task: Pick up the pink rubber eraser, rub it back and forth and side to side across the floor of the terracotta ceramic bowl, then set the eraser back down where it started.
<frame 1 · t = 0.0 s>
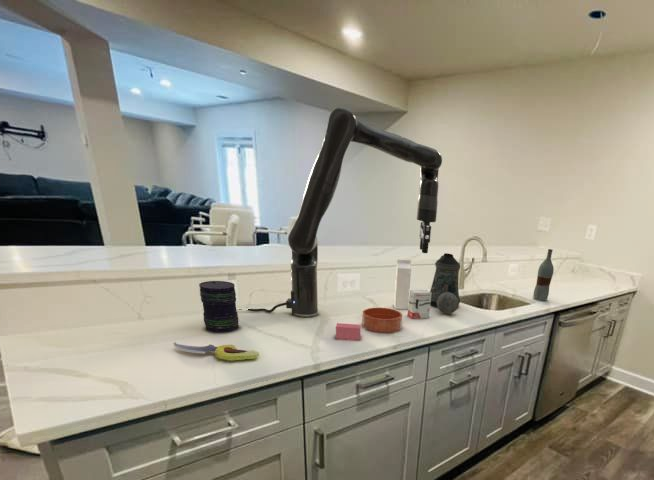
hand: (423, 251, 153), 29 cm above the countertop, tool pointing down, fingers open, 8 cm apart
eraser: (348, 337, 136), on the countertop
bowl: (382, 326, 151), on the countertop
bottle: (539, 299, 235), on the countertop
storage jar: (222, 328, 129), on the countertop
decorative ball: (446, 313, 180), on the countertop
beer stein: (441, 304, 194), on the countertop
milk: (400, 307, 179), on the countertop
ink box: (418, 317, 170), on the countertop
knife: (214, 355, 111), on the countertop
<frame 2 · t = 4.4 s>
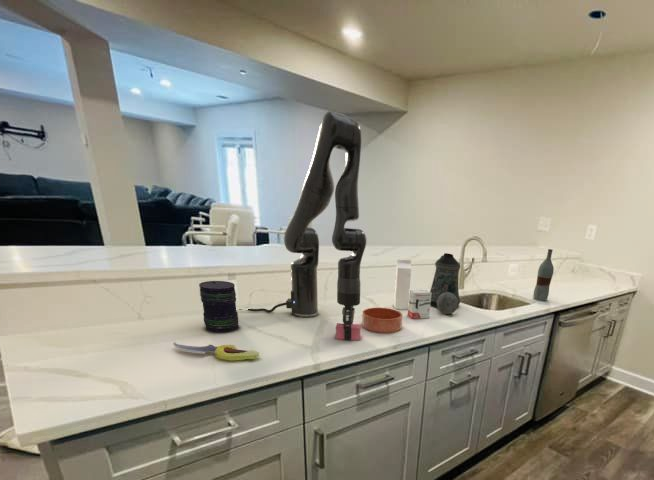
hand: (348, 336, 136), 0 cm above the countertop, tool pointing down, fingers closed on eraser, 4 cm apart
eraser: (348, 337, 136), on the countertop, touching gripper
everything else where it was.
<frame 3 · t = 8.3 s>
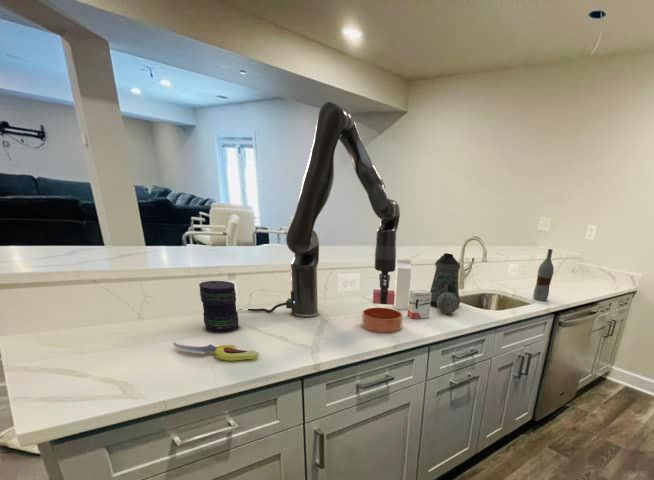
hand: (383, 302, 147), 10 cm above the countertop, tool pointing down, fingers closed on eraser, 4 cm apart
eraser: (383, 302, 148), point 10 cm above the countertop, touching gripper
everything else where it was.
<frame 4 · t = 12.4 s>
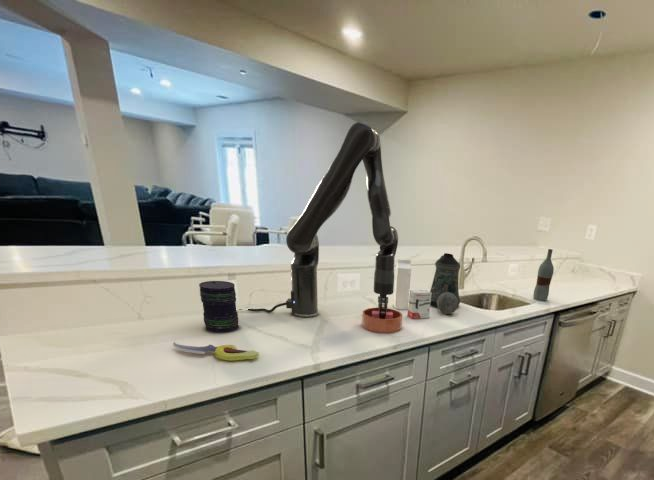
hand: (381, 322, 153), 1 cm above the countertop, tool pointing down, fingers closed on eraser, 4 cm apart
eraser: (381, 323, 153), point 1 cm above the countertop, touching gripper
everything else where it was.
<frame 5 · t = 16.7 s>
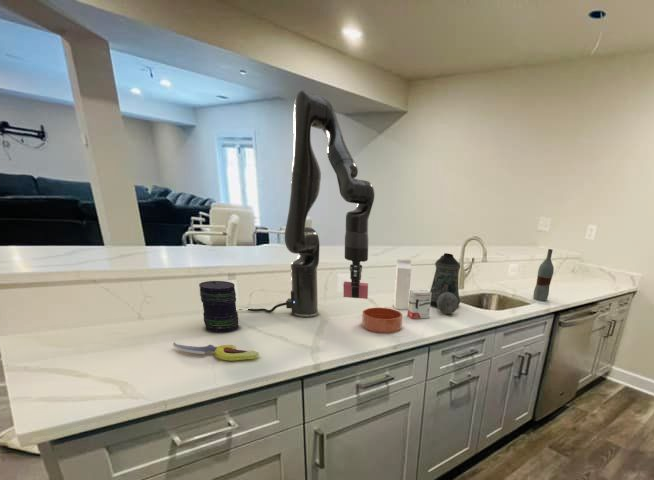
hand: (355, 295, 133), 15 cm above the countertop, tool pointing down, fingers closed on eraser, 4 cm apart
eraser: (355, 296, 133), point 15 cm above the countertop, touching gripper
everything else where it was.
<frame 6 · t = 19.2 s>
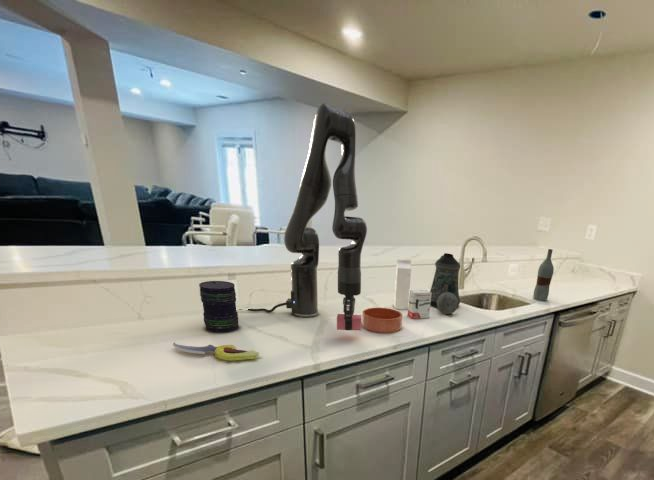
hand: (348, 327, 135), 4 cm above the countertop, tool pointing down, fingers closed on eraser, 4 cm apart
eraser: (349, 328, 135), point 4 cm above the countertop, touching gripper
everything else where it was.
when the fingers open (0 cm above the countertop, at t = 20.5 s): eraser stays where it is, on the countertop.
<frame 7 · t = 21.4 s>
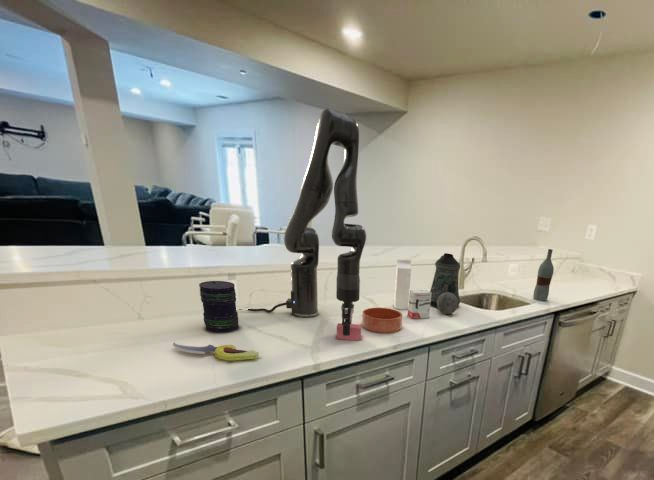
hand: (347, 330, 135), 2 cm above the countertop, tool pointing down, fingers open, 8 cm apart
eraser: (349, 337, 136), on the countertop
everything else where it was.
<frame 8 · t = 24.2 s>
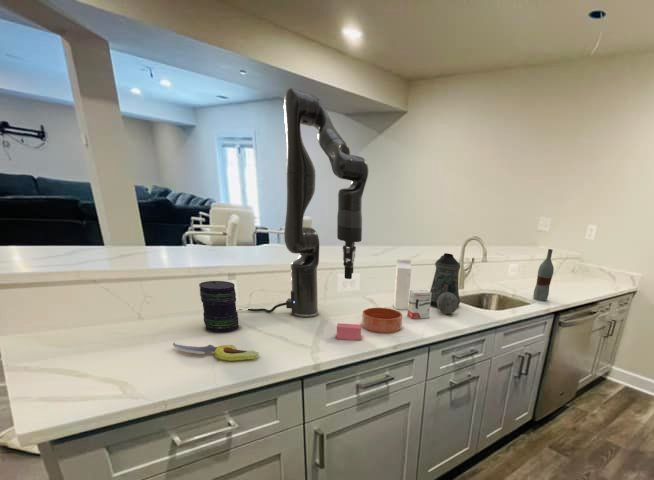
hand: (349, 275, 127), 22 cm above the countertop, tool pointing down, fingers open, 8 cm apart
nothing on the countertop moved.
at the end: eraser inside the target area (0.3 cm from its centre), on the countertop; eraser tilted 0°; the gripper is holding nothing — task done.
